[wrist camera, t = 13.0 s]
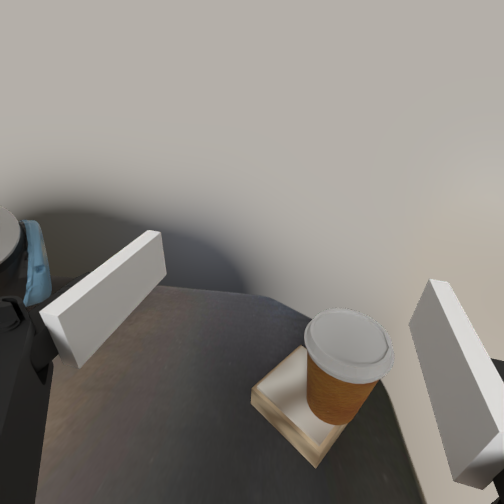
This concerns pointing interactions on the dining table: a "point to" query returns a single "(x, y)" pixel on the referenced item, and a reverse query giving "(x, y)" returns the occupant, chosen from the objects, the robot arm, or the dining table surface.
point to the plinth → (294, 408)
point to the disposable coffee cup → (344, 362)
